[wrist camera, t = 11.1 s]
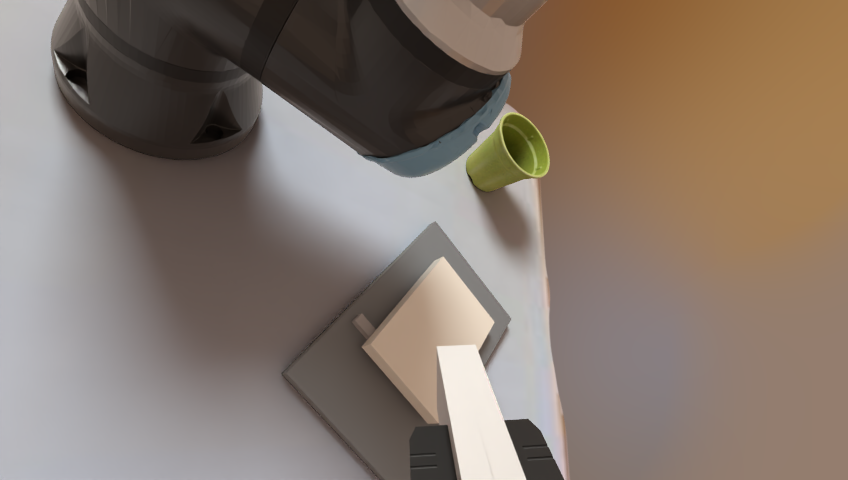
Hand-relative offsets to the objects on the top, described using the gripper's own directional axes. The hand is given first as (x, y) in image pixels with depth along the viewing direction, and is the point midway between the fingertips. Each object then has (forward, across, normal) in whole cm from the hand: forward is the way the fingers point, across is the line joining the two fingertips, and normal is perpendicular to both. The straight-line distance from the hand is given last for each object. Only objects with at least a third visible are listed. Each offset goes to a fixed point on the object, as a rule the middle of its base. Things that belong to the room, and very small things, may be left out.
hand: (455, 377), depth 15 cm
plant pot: (+45, +10, +3) cm, 46 cm away
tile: (+19, -2, -13) cm, 23 cm away
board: (+25, 0, -12) cm, 28 cm away
